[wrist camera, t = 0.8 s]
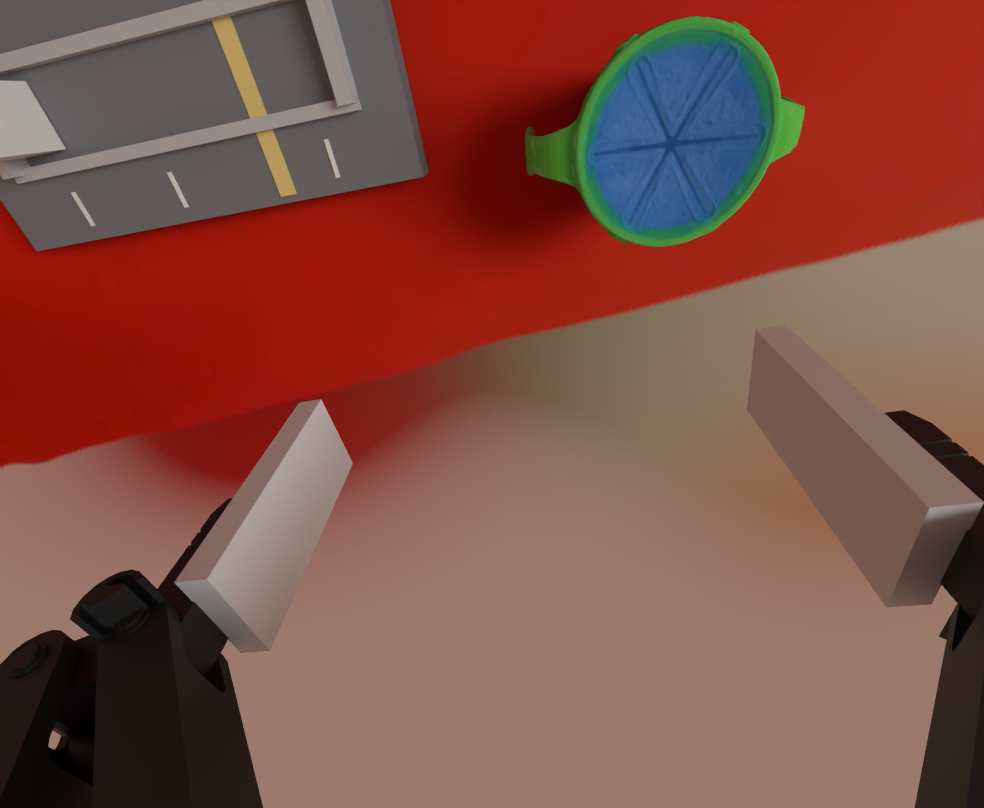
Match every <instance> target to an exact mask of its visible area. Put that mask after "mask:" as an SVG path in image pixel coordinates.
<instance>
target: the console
mask: <svg viewBox="0 0 984 808" xmlns="http://www.w3.org/2000/svg"><path fill="white" fill-rule="evenodd" d="M0 81H26V83H27V84H28V86H29V88H30V89H31V91H32V93H33V94H34V96H35V98H36V99H37V101H38V103H39V105H40V106H41V108H42V110H43V111H44V113H45V115H46V116H47V118H48V120H49V121H50V123H51V125H52V126H53V128H54V130H55V131H56V133H57V135H58V136H59V138H60V140H61V141H62V143H63V145H64V146H65V148H66V149H65V150H60V151H56V152H51V153H47V154H43V155H38V156H34V157H29V158H21V159H14V160H6V161H0V200H1V201H2V203H3V204H4V206H5V207H6V209H7V210H8V211H9V213H10V214H11V216H12V217H13V218H14V220H15V221H16V223H17V224H18V226H19V227H20V228H21V230H22V231H23V233H24V234H25V236H26V237H27V238H28V240H29V241H30V243H31V244H32V246H33V247H34V248H35V250H36V251H42V250H47V249H52V248H57V247H62V246H68V245H73V244H78V243H83V242H88V241H94V240H99V239H104V238H109V237H114V236H120V235H125V234H130V233H135V232H140V231H146V230H151V229H156V228H161V227H166V226H172V225H177V224H182V223H187V222H192V221H198V220H203V219H208V218H213V217H219V216H224V215H229V214H234V213H239V212H245V211H250V210H255V209H260V208H265V207H271V206H276V205H281V204H286V203H291V202H297V201H302V200H307V199H312V198H317V197H323V196H328V195H333V194H338V193H343V192H349V191H354V190H359V189H364V188H369V187H375V186H380V185H385V184H390V183H395V182H401V181H406V180H411V179H416V178H421V177H424V176H425V175H426V174H428V173H429V170H428V165H427V161H426V157H425V152H424V148H423V143H422V139H421V135H420V130H419V126H418V121H417V117H416V113H415V108H414V104H413V99H412V95H411V90H410V86H409V82H408V77H407V73H406V68H405V64H404V60H403V55H402V51H401V46H400V42H399V38H398V33H397V29H396V24H395V20H394V15H393V11H392V7H391V2H390V0H0Z"/></svg>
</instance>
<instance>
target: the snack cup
mask: <svg viewBox="0 0 984 808" xmlns="http://www.w3.org/2000/svg"><path fill="white" fill-rule="evenodd" d="M804 110H805V107H804V106H803V105H799V104H797V103H796V102H794V101H793V100H791V99H789V98H787V97H781V96H780V86H779V82H778V78H777V75H776V71H775V69H774V66H773V64H772V62H771V60H770V58H769V55H768V54H767V53H766V51H765V49H764V48H763V46H762V45H761V44H760V43H759V42H758V41H757V40H755V39H754V38H753V37H752V36H750V34H749V30H748V29H746V28H745V27H743V26H742V25H740V24H739V23H737V22H734V21H729V22H726V21H723V20H720V19H714V18H709V17H700V16H693V17H686V18H681V19H676V20H672V21H668V22H665V23H663V24H660V25H658V26H655V27H653V28H651V29H649V30H647V31H645V32H644V33H642V34H639V35H637V34H633V35H632V36H630V37H629V38H628V39H627V40H625V41H624V42H623V43H622V44H621V45H619V46H618V47H617V48H616V49H615V51H614V53H613V56H612V58H611V59H610V60H609V62H608V63H607V64H606V65H605V67H604V68H603V69H602V71H601V72H600V73H599V75H598V76H597V78H596V79H595V81H594V83H593V84H592V86H591V88H590V89H589V91H588V93H587V95H586V97H585V99H584V101H583V104H582V107H581V110H580V113H579V116H578V118H577V119H576V120H575V121H574V122H573V123H572V124H571V125H569V126H568V127H565V128H563V129H560V130H558V131H556V132H553V133H550V134H547V135H544V136H535V132H534V129H533V128H532V127H528V128H527V130H526V132H525V147H526V168H527V173H528V175H531V176H532V175H533V174H537V175H539V176H542V177H545V178H548V179H552V180H555V181H558V182H562V183H566V184H569V185H571V186H574V187H575V188H576V189H577V190H578V191H579V193H580V195H581V197H582V199H583V201H584V203H585V205H586V207H587V208H588V210H589V211H590V213H591V214H592V216H593V217H594V218H595V219H596V221H597V222H598V223H599V224H600V225H602V226H603V227H604V228H605V229H606V230H607V231H608V233H609V234H610V236H611V237H613V238H615V239H617V240H619V241H621V242H623V243H626V242H630V243H633V244H637V245H643V246H649V247H665V246H672V245H677V244H681V243H684V242H687V241H690V240H693V239H695V238H698V237H700V236H702V235H705V234H707V233H709V232H711V231H713V230H715V229H716V228H717V227H719V225H720V224H722V223H723V222H724V221H726V220H727V219H728V218H729V217H731V216H732V215H733V214H734V213H735V212H736V211H737V210H738V209H739V208H740V207H741V206H742V205H743V204H744V202H745V201H746V200H747V199H748V198H749V197H750V195H751V194H752V192H753V191H754V190H755V188H756V187H757V185H758V184H759V182H760V181H761V179H762V177H763V176H764V174H765V172H766V169H767V167H768V166H769V164H771V163H772V162H773V161H775V160H777V159H779V158H781V157H782V156H784V155H786V154H789V153H790V151H791V150H792V149H793V148H795V147H796V145H797V143H798V139H799V136H800V132H801V127H802V123H803V118H804Z"/></svg>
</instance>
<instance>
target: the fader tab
mask: <svg viewBox="0 0 984 808" xmlns="http://www.w3.org/2000/svg"><path fill="white" fill-rule="evenodd" d="M65 149H66V148H65V146H64V145H63V143H62V141H61V140H60V138H59V136H58V135H57V133H56V131H55V130H54V128H53V126H52V125H51V123H50V121H49V120H48V118H47V116H46V115H45V113H44V111H43V110H42V108H41V106H40V105H39V103H38V101H37V99H36V98H35V96H34V94H33V93H32V91H31V89H30V88H29V86H28V84H27V83H26V81H0V161H6V160H14V159H21V158H29V157H34V156H38V155H43V154H47V153H51V152H56V151H60V150H65Z"/></svg>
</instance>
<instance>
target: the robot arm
mask: <svg viewBox="0 0 984 808" xmlns="http://www.w3.org/2000/svg"><path fill="white" fill-rule="evenodd" d="M747 410H748V412H749V413H750V415H751V416H752V418H753V419H754V420H755V422H756V423H757V425H758V426H759V428H760V429H761V430H762V432H763V433H764V435H765V436H766V437H767V439H768V440H769V442H770V443H771V444H772V446H773V447H774V448H775V450H776V451H777V453H778V454H779V456H780V457H781V459H782V460H783V461H784V463H785V464H786V466H787V467H788V468H789V470H790V471H791V473H792V474H793V476H794V477H795V479H796V480H797V481H798V483H799V484H800V486H801V487H802V488H803V490H804V491H805V493H806V494H807V496H808V497H809V498H810V500H811V501H812V503H813V504H814V505H815V507H816V508H817V510H818V511H819V512H820V514H821V515H822V517H823V518H824V520H825V521H826V522H827V524H828V525H829V527H830V528H831V529H832V531H833V532H834V534H835V535H836V537H837V538H838V539H839V541H840V542H841V544H842V545H843V546H844V548H845V549H846V551H847V552H848V554H849V555H850V556H851V558H852V559H853V561H854V562H855V563H856V565H857V566H858V567H859V569H860V571H861V572H862V573H863V575H864V576H865V577H866V579H867V580H868V582H869V583H870V585H871V586H872V588H873V589H874V590H875V592H876V593H877V594H878V596H879V597H880V599H881V600H882V602H883V603H884V605H885V606H886V607H898V606H912V605H926V604H932V602H933V600H934V598H935V596H936V594H937V592H938V590H939V588H940V586H941V585H943V587H944V588H945V589H946V590H947V591H948V592H949V594H950V595H951V596H952V597H953V598H954V599H955V601H956V602H957V603H958V604H957V605H956V607H955V609H954V611H953V612H952V614H951V616H950V618H949V619H948V621H947V623H946V625H945V626H944V628H943V630H942V632H941V633H940V636H939V637H942V638H944V639H946V640H947V642H946V647H945V652H944V657H943V663H942V668H941V673H940V678H939V683H938V689H937V694H936V699H935V705H934V709H933V715H932V720H931V725H930V730H929V736H928V741H927V746H926V751H925V756H924V762H923V767H922V773H921V778H920V783H919V788H918V793H917V799H916V803H915V808H984V465H983V464H981V463H980V462H979V461H978V460H977V459H975V458H974V457H973V456H970V457H969V455H968V452H967V451H965V450H964V449H963V448H962V447H961V446H959V445H958V444H957V443H952V441H951V438H949V437H948V436H947V435H946V434H944V433H943V432H942V431H941V430H940V429H938V428H937V427H936V426H935V425H933V424H932V423H931V422H928V421H926V420H924V419H922V418H920V417H917V416H915V415H913V414H911V413H909V412H906V411H896V412H888V413H884V412H882V411H881V410H880V409H879V408H878V407H877V406H876V405H874V404H873V403H872V402H871V401H870V400H869V399H868V398H867V397H866V396H864V395H863V394H862V393H861V392H860V391H859V390H858V389H857V388H856V387H854V386H853V385H852V384H851V383H850V382H849V381H848V380H846V379H845V378H844V377H843V376H842V375H841V374H840V373H839V372H838V371H836V370H835V369H834V368H833V367H832V366H831V365H830V364H829V363H827V362H826V361H825V360H824V359H823V358H822V357H821V356H820V355H819V354H817V353H816V352H815V351H814V350H813V349H811V347H810V346H808V345H807V344H806V343H805V342H804V341H803V340H802V339H801V338H799V337H798V336H797V335H796V334H795V333H794V332H793V331H791V330H790V329H789V328H788V327H787V326H786V325H782V326H776V327H769V328H763V329H757V330H756V332H755V342H754V350H753V360H752V369H751V378H750V387H749V396H748V405H747ZM351 466H352V461H351V459H350V457H349V455H348V453H347V451H346V449H345V447H344V445H343V443H342V441H341V439H340V437H339V435H338V433H337V430H336V429H335V427H334V424H333V422H332V421H331V419H330V416H329V414H328V412H327V410H326V408H325V406H324V404H323V402H322V400H321V399H320V400H314V401H307V402H301V403H299V404H298V405H297V407H296V408H295V410H294V411H293V413H292V414H291V416H290V417H289V418H288V420H287V421H286V423H285V424H284V426H283V427H282V429H281V430H280V431H279V433H278V434H277V436H276V437H275V439H274V440H273V441H272V443H271V444H270V446H269V447H268V448H267V450H266V451H265V453H264V454H263V456H262V457H261V459H260V460H259V461H258V463H257V464H256V466H255V467H254V469H253V470H252V472H251V473H250V474H249V476H248V477H247V479H246V480H245V482H244V483H243V484H242V486H241V487H240V489H239V490H238V492H237V493H236V494H235V496H234V497H233V498H229V499H228V500H227V501H225V502H224V503H223V504H222V505H221V506H220V507H219V508H218V509H216V510H215V511H214V512H213V513H212V514H211V515H210V517H209V518H208V520H207V521H206V522H205V524H204V525H203V527H202V528H201V532H199V533H198V534H197V535H196V536H195V538H194V539H193V540H192V542H191V546H188V547H187V549H186V550H185V552H184V553H183V555H182V556H181V557H180V559H179V560H178V561H177V563H176V564H175V565H174V567H173V568H172V570H171V571H170V572H169V574H168V575H167V577H166V578H165V579H164V581H163V582H162V583H161V585H160V586H159V588H158V589H156V588H155V587H154V586H153V585H152V584H151V583H150V582H149V581H148V580H147V579H146V578H145V577H144V576H143V575H142V574H141V573H140V572H139V571H135V570H128V571H123V572H119V573H117V574H115V575H113V576H110V577H109V578H107V579H105V580H104V581H102V582H101V583H99V584H98V585H96V586H95V587H93V588H92V589H91V590H90V591H89V592H88V593H87V594H86V595H85V596H84V597H83V598H82V599H81V600H80V601H79V603H78V604H77V605H76V607H75V608H74V609H73V612H72V615H71V617H70V619H71V620H72V621H73V622H74V623H75V624H77V625H78V626H79V627H80V628H82V629H83V630H84V631H85V632H87V633H88V634H89V636H86V637H84V638H81V639H78V640H76V641H74V640H72V639H71V638H70V637H68V636H67V635H66V634H65V633H63V632H62V631H59V630H51V631H48V632H45V633H42V634H39V635H37V636H36V637H34V638H32V639H30V640H28V641H26V642H25V643H23V644H22V645H20V647H18V648H16V649H15V650H14V651H13V652H12V653H11V654H10V655H9V656H8V657H7V658H6V659H5V660H4V661H3V662H2V663H1V664H0V808H263V806H262V802H261V797H260V794H259V789H258V785H257V781H256V777H255V773H254V769H253V765H252V760H251V756H250V752H249V748H248V744H247V740H246V736H245V732H244V728H243V724H242V720H241V715H240V711H239V707H238V703H237V699H236V695H235V691H234V687H233V682H232V679H231V674H230V670H229V667H228V662H227V661H226V659H225V658H224V656H223V655H222V654H221V651H222V649H223V648H224V646H225V644H226V642H227V640H229V641H230V642H231V643H232V644H233V645H234V646H235V647H236V648H237V649H238V650H239V651H240V652H241V653H244V652H257V651H269V650H270V649H271V647H272V644H273V642H274V640H275V637H276V636H277V633H278V631H279V629H280V627H281V624H282V622H283V620H284V617H285V615H286V613H287V611H288V608H289V606H290V604H291V602H292V599H293V597H294V595H295V593H296V590H297V588H298V586H299V583H300V581H301V579H302V577H303V575H304V572H305V570H306V568H307V566H308V563H309V561H310V559H311V556H312V554H313V552H314V550H315V547H316V545H317V543H318V540H319V538H320V536H321V534H322V531H323V529H324V527H325V525H326V523H327V520H328V518H329V516H330V513H331V511H332V509H333V507H334V504H335V502H336V500H337V498H338V495H339V493H340V491H341V489H342V486H343V484H344V482H345V480H346V477H347V475H348V473H349V471H350V468H351ZM52 730H53V731H55V732H57V733H58V734H60V735H61V738H60V741H59V744H58V746H57V747H56V749H55V750H54V749H51V748H49V747H48V743H49V738H50V735H51V732H52Z"/></svg>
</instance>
